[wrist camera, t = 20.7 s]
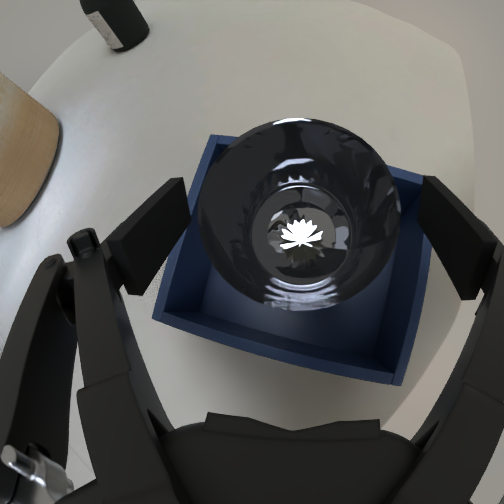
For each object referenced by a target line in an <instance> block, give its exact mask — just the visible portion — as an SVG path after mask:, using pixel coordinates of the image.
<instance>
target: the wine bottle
mask: <svg viewBox="0 0 504 504" xmlns="http://www.w3.org/2000/svg"><path fill="white" fill-rule="evenodd" d="M80 4H81V7H82V9H83V11H84V13H85V14H86V16H87V17H88V18H89V20H90V21H91V22H92V24H93V25H94V26H95V28H96V29H97V30H98V32H99V33H100V34H101V35H102V37H103V38H104V39H105V41H106V42H107V43H108V45H109V46H110V47H111V48H112V49H113V50H114V51H123V50H127V49H129V48H131V47H133V46H134V45H136V44H138V43H139V42H140V41H141V40H142V39H143V38H144V37H145V36H146V35H147V33H148V30H149V29H148V25H147V23H146V21H145V19H144V18H143V16H142V14H141V13H140V11H139V10H138V8H137V6H136V5H135V3H134V1H133V0H80Z"/></svg>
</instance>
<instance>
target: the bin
mask: <svg viewBox="0 0 504 504" xmlns="http://www.w3.org/2000/svg"><path fill="white" fill-rule="evenodd" d="M237 138H238V137H233V136H223V135H220V136H219V135H210V137H209V140H208V142H207V145H206V148H205V150H204V153H203V155H202V158H201V161H200V163H199V166H198V169H197V172H196V174H195V177H194V180H193V183H192V186H191V188H190V191H189V194H188V197H187V200H188V205H189V210H190V214H191V219H192V221H191V223H190V224H189V226H188V227H187V229H186V230H185V231H184V233H183V234H182V236H181V237H180V239H179V240H178V242H177V243H176V245H175V246H174V248H173V249H172V251H171V252H170V254H169V256H168V260H167V263H166V267H165V270H164V274H163V277H162V281H161V284H160V288H159V292H158V296H157V299H156V303H155V307H154V311H153V315H152V319H154V320H156V321H159V322H162V323H164V324H167V325H169V326H172V327H175V328H177V329H180V330H183V331H186V332H188V333H191V334H194V335H197V336H200V337H203V338H206V339H209V340H212V341H215V342H218V343H221V344H224V345H227V346H230V347H233V348H236V349H240V350H243V351H246V352H250V353H253V354H256V355H260V356H263V357H267V358H271V359H274V360H278V361H282V362H285V363H289V364H293V365H297V366H301V367H305V368H309V369H313V370H318V371H322V372H326V373H331V374H335V375H340V376H345V377H350V378H355V379H360V380H365V381H371V382H376V383H382V384H388V385H390V384H391V385H395V386H401V385H402V382H403V379H404V375H405V372H406V369H407V366H408V362H409V359H410V355H411V352H412V348H413V344H414V341H415V337H416V333H417V329H418V324H419V320H420V315H421V311H422V306H423V301H424V296H425V290H426V285H427V279H428V272H429V265H430V258H431V250H432V245H431V243H430V242H429V240H428V238H427V237H426V235H425V233H424V232H423V230H422V229H421V227H420V226H419V224H418V222H417V215H418V209H419V203H420V197H421V189H422V182H423V175H419V174H416V173H413V172H409V171H406V170H402V169H399V168H395V167H392V166H388V165H386V166H387V167H388V169H389V171H390V173H391V174H392V176H393V179H394V182H395V185H396V187H397V190H398V194H399V200H400V207H401V223H400V230H399V235H398V239H397V243H396V246H395V248H394V251H393V253H392V255H391V257H390V260H389V261H388V263H387V264H386V266H385V267H384V269H383V270H382V271H381V273H380V274H379V275H378V276H377V277H376V278H375V279H374V280H373V281H372V282H371V283H370V284H369V285H368V286H367V287H366V288H365V289H364V290H362V291H361V292H359V293H358V294H356V295H355V296H353V297H352V298H350V299H349V300H346V301H344V302H342V303H339V304H337V305H335V306H332V307H328V308H324V309H319V310H314V311H287V310H281V309H275V308H271V307H269V306H266V305H263V304H260V303H257V302H255V301H253V300H252V299H250V298H248V297H246V296H245V295H243V294H241V293H240V292H238V291H237V290H236V289H235V288H233V287H232V286H231V285H230V284H229V283H228V282H226V281H225V280H224V279H223V277H222V276H221V275H220V274H219V272H218V271H217V270H216V269H215V267H214V266H213V265H212V263H211V261H210V259H209V257H208V255H207V254H206V252H205V250H204V246H203V243H202V240H201V237H200V234H199V226H198V201H199V197H200V192H201V188H202V185H203V182H204V180H205V178H206V175H207V173H208V171H209V169H210V168H211V166H212V165H213V163H214V162H215V160H216V159H217V157H218V156H219V155H220V154H221V153H222V152H223V151H224V149H225V148H226V147H227V146H228V145H229V144H231V143H232V142H233V141H234V140H236V139H237Z"/></svg>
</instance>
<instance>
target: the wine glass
mask: <svg viewBox="0 0 504 504" xmlns="http://www.w3.org/2000/svg"><path fill="white" fill-rule="evenodd" d="M400 223H401V207H400V200H399V194H398V190H397V187H396V185H395V182H394V179H393V176H392V174H391V173H390V171H389V169H388V167H387V166H386V164H385V162H384V161H383V160H382V158H381V157H380V156H379V155H378V153H377V152H376V151H375V150H374V149H373V148H372V147H371V146H370V145H369V144H367V143H366V142H365V141H364V140H363V139H362V138H360V137H359V136H357V135H355V134H354V133H352V132H350V131H349V130H347V129H345V128H342V127H340V126H338V125H335V124H333V123H329V122H325V121H321V120H316V119H306V118H293V119H283V120H278V121H273V122H269V123H266V124H263V125H261V126H258V127H255V128H253V129H252V130H250V131H248V132H246V133H244V134H243V135H241V136H240V137H238V138H237V139H236V140H234V141H233V142H232V143H231V144H229V145H228V146H227V147H226V148H225V149H224V151H223V152H222V153H221V154H220V155H219V156H218V157H217V159H216V160H215V162H214V163H213V165H212V166H211V168H210V169H209V171H208V173H207V175H206V178H205V180H204V182H203V185H202V188H201V192H200V197H199V201H198V226H199V234H200V237H201V240H202V243H203V246H204V250H205V252H206V254H207V255H208V257H209V259H210V261H211V263H212V265H213V266H214V267H215V269H216V270H217V271H218V272H219V274H220V275H221V276H222V277H223V279H224V280H225V281H226V282H228V283H229V284H230V285H231V286H232V287H233V288H235V289H236V290H237V291H238V292H240V293H241V294H243V295H245V296H246V297H248V298H250V299H252V300H253V301H255V302H257V303H260V304H263V305H266V306H269V307H271V308H275V309H281V310H287V311H314V310H319V309H324V308H328V307H332V306H335V305H337V304H339V303H342V302H344V301H346V300H349V299H350V298H352V297H353V296H355V295H356V294H358V293H359V292H361V291H362V290H364V289H365V288H366V287H367V286H368V285H369V284H370V283H371V282H372V281H373V280H374V279H375V278H376V277H377V276H378V275H379V274H380V273H381V271H382V270H383V269H384V267H385V266H386V264H387V263H388V261H389V260H390V257H391V255H392V253H393V251H394V248H395V246H396V243H397V239H398V235H399V230H400Z"/></svg>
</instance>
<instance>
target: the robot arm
mask: <svg viewBox="0 0 504 504" xmlns="http://www.w3.org/2000/svg"><path fill="white" fill-rule="evenodd" d="M191 221H192V219H191V214H190V210H189V205H188V200H187V195H186V190H185V185H184V180H183V177H179V178H170V179H169V180H168V181H167V182H166V183H165V184H164V185H163V186H161V187H160V188H159V189H158V190H157V191H156V192H155V193H154V194H153V195H151V196H150V197H149V198H148V199H147V200H146V201H145V202H144V203H143V204H142V205H141V206H140V207H139V208H138V209H137V210H135V211H134V212H133V213H132V214H131V215H130V216H129V217H128V218H127V219H126V220H125V221H124V222H122V223H121V224H120V225H119V226H118V227H117V228H116V230H114V231H113V232H112V233H111V234H110V235H109V236H108V237H107V238H106V239H105V240H104V241H103V242H102V243H101V244H100V243H99V241H98V238H97V235H96V233H95V230H94V229H93V228H86V229H83V230H80V231H78V232H76V233H74V234H73V235H72V236H70V238H69V239H68V240H67V244H68V247H69V249H70V251H71V254H72V256H73V258H74V261H72V262H68V263H65V262H64V260H63V257H62V256H61V254H55V255H52V256H48V257H47V258H45V259H44V261H43V262H42V263H41V264H40V265H39V267H38V269H37V271H36V273H35V275H34V277H33V279H32V281H31V283H30V285H29V287H28V289H27V292H26V294H25V296H24V298H23V300H22V303H21V305H20V307H19V310H18V312H17V315H16V317H15V320H14V322H13V325H12V327H11V330H10V333H9V335H8V338H7V341H6V344H5V347H4V350H3V353H2V356H1V359H0V504H473V503H472V502H471V501H470V498H471V496H472V494H473V493H474V491H475V489H476V487H477V485H478V484H479V482H480V480H481V478H482V476H483V474H484V472H485V470H486V468H487V466H488V464H489V462H490V459H491V458H492V455H493V453H494V451H495V448H496V446H497V444H498V441H499V439H500V436H501V433H502V431H503V428H504V245H503V244H502V243H501V242H500V241H499V240H498V238H497V237H496V236H495V235H494V234H493V232H492V231H491V230H489V228H488V227H487V225H486V224H485V223H484V222H482V221H481V220H479V219H478V218H477V217H476V216H475V215H474V214H473V213H472V212H471V211H470V210H469V209H468V208H467V207H466V206H465V205H464V204H463V203H462V202H461V201H460V200H459V199H458V198H457V197H456V196H455V195H454V194H453V193H452V192H451V191H450V190H449V189H448V188H447V187H446V186H445V185H444V184H443V183H442V182H441V181H440V180H439V179H437V178H436V177H435V176H425V175H423V182H422V189H421V197H420V203H419V209H418V215H417V222H418V224H419V226H420V227H421V229H422V230H423V232H424V233H425V235H426V237H427V238H428V240H429V242H430V243H431V245H432V247H433V248H434V250H435V252H436V253H437V255H438V257H439V259H440V260H441V262H442V264H443V266H444V268H445V269H446V271H447V273H448V275H449V277H450V279H451V281H452V282H453V284H454V286H455V288H456V290H457V292H458V294H459V296H460V298H461V300H475V299H476V297H477V295H478V293H479V290H480V288H481V289H482V290H483V292H484V296H483V299H482V301H481V303H480V305H479V307H478V309H477V311H476V313H475V315H476V317H475V321H474V323H473V326H472V328H471V331H470V333H469V336H468V338H467V341H466V343H465V345H464V348H463V350H462V352H461V354H460V357H459V359H458V361H457V363H456V365H455V368H454V369H453V371H452V373H451V375H450V377H449V379H448V381H447V383H446V385H445V387H444V389H443V391H442V393H441V394H440V396H439V398H438V400H437V402H436V403H435V405H434V407H433V408H432V410H431V412H430V413H429V415H428V417H427V418H426V420H425V421H424V423H423V425H422V426H421V428H420V429H419V430H418V432H417V433H416V434H415V435H414V437H413V438H412V439H411V440H410V441H409V440H408V439H406V438H404V437H402V436H400V435H398V434H395V433H392V432H389V431H385V430H380V419H374V420H358V421H337V422H333V423H329V424H325V425H320V426H316V427H311V428H306V429H301V430H296V431H291V430H286V429H283V428H280V427H276V426H273V425H270V424H267V423H264V422H261V421H257V420H255V419H252V418H249V417H240V416H232V415H224V414H217V413H211V412H208V413H207V417H206V420H205V422H200V423H194V424H189V425H186V426H182V427H180V428H177V429H174V427H173V426H172V424H171V423H170V421H169V419H168V417H167V415H166V413H165V411H164V409H163V407H162V404H161V402H160V400H159V398H158V395H157V393H156V391H155V388H154V386H153V383H152V381H151V378H150V376H149V374H148V371H147V368H146V366H145V363H144V361H143V358H142V355H141V353H140V350H139V347H138V344H137V341H136V338H135V336H134V333H133V330H132V327H131V324H130V320H129V317H128V314H127V311H126V308H125V304H124V301H123V298H122V295H121V293H120V291H119V289H120V288H121V286H122V285H123V284H124V286H125V289H126V291H127V293H128V295H139V296H143V294H144V293H145V291H146V289H147V288H148V286H149V285H150V283H151V281H152V280H153V278H154V277H155V275H156V274H157V272H158V270H159V269H160V267H161V266H162V264H163V263H164V261H165V260H166V258H167V257H168V255H169V254H170V252H171V251H172V249H173V248H174V246H175V245H176V243H177V242H178V240H179V239H180V237H181V236H182V234H183V233H184V231H185V230H186V229H187V227H188V226H189V224H190V223H191ZM77 342H78V347H79V355H80V362H81V369H82V375H83V381H84V388H82V389H79V390H78V391H77V404H78V409H79V414H80V419H81V424H82V428H83V433H84V437H85V441H86V445H87V449H88V452H89V456H90V460H91V463H92V466H93V470H94V473H95V476H96V479H94V480H93V481H91V482H89V483H87V484H85V485H84V486H82V487H80V488H78V489H76V490H74V485H73V483H72V481H71V480H70V479H68V478H67V476H66V473H65V469H66V463H67V456H68V441H69V414H70V400H71V388H72V379H73V370H74V362H75V355H76V349H77ZM73 490H74V491H73ZM498 504H504V496H503V497H502V499H501V501H500V503H498Z"/></svg>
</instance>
